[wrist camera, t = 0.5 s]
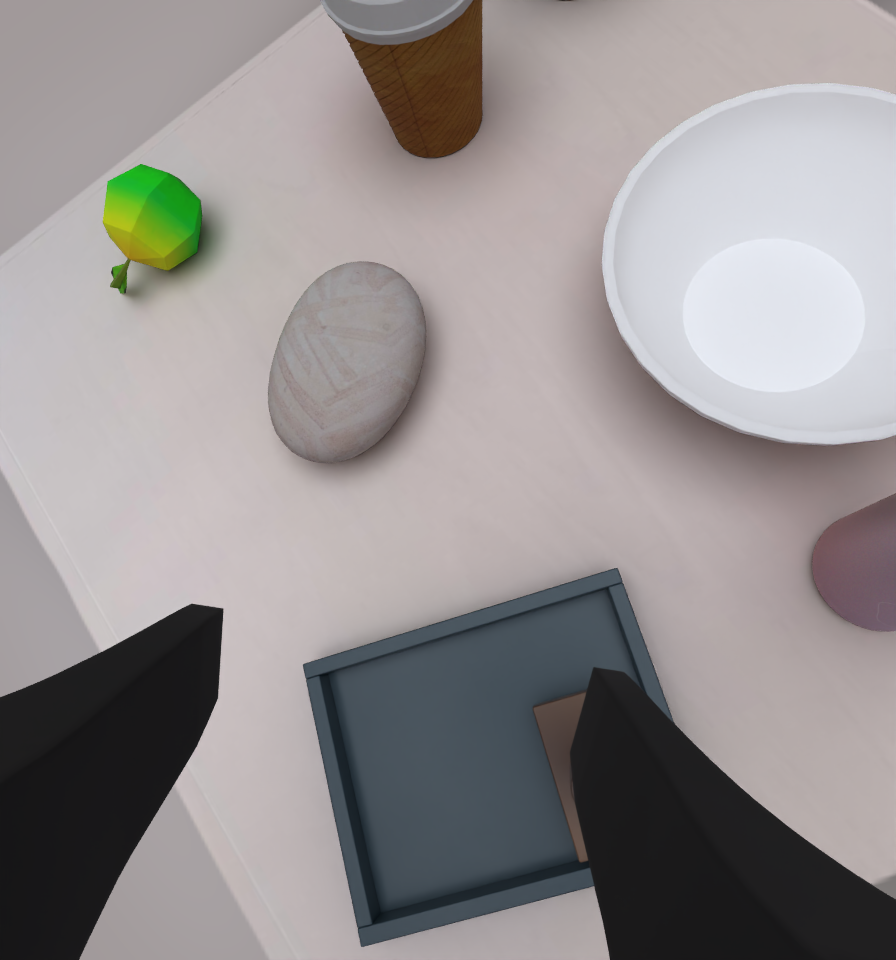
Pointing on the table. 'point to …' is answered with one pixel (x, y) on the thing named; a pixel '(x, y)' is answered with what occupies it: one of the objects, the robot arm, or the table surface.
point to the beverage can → (860, 566)
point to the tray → (464, 754)
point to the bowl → (767, 263)
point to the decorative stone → (346, 362)
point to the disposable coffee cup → (419, 66)
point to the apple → (151, 220)
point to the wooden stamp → (562, 754)
